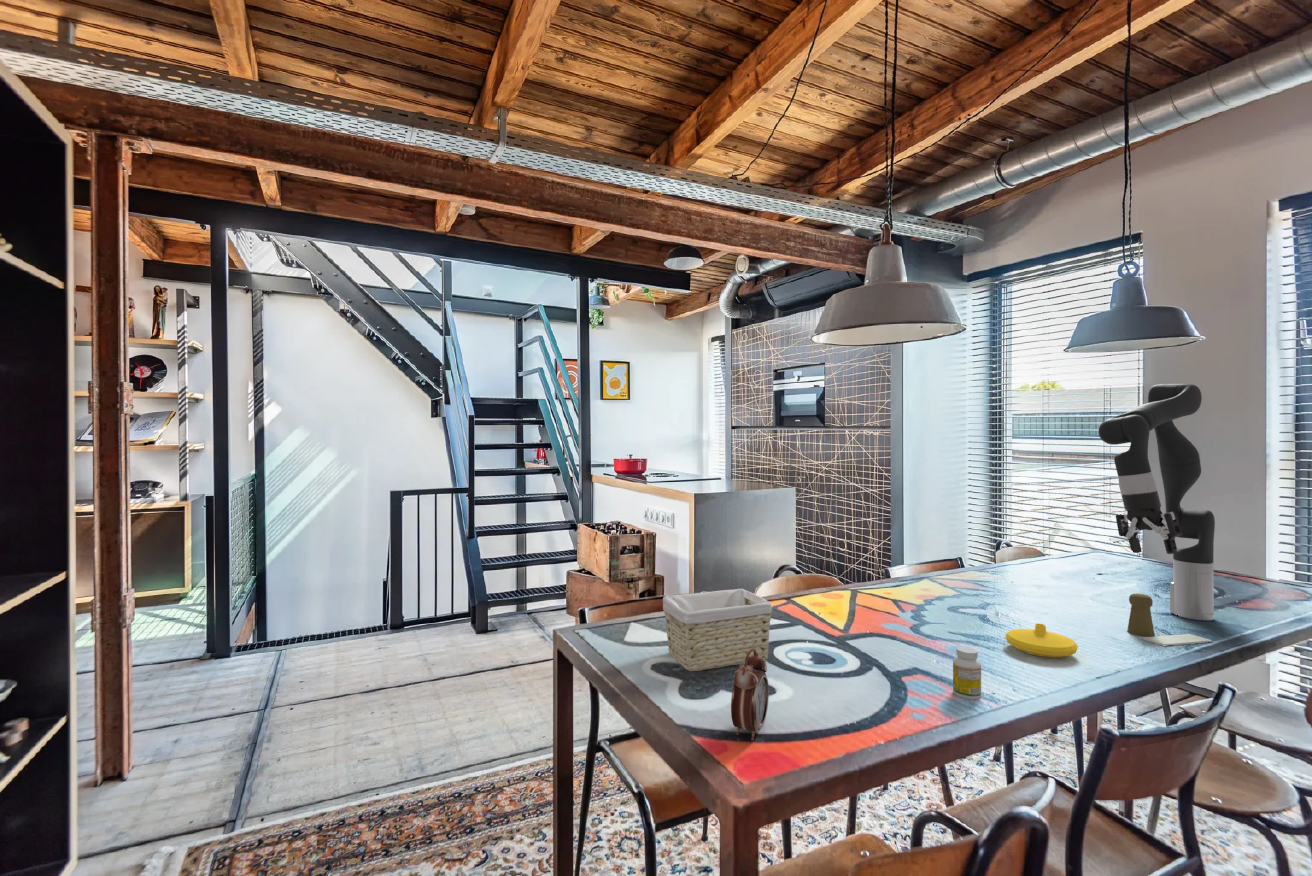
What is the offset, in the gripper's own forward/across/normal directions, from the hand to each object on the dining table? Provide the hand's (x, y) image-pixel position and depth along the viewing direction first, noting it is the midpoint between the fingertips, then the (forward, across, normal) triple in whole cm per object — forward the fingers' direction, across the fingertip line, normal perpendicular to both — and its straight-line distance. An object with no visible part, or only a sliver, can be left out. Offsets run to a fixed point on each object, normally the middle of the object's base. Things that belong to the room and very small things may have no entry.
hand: (1154, 553), depth 154 cm
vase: (+20, +9, +33) cm, 40 cm away
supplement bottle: (+18, -8, +71) cm, 74 cm away
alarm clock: (+13, -12, +122) cm, 123 cm away
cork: (+24, +14, -7) cm, 29 cm away
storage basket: (+8, +25, +114) cm, 118 cm away
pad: (+26, +7, -10) cm, 29 cm away
